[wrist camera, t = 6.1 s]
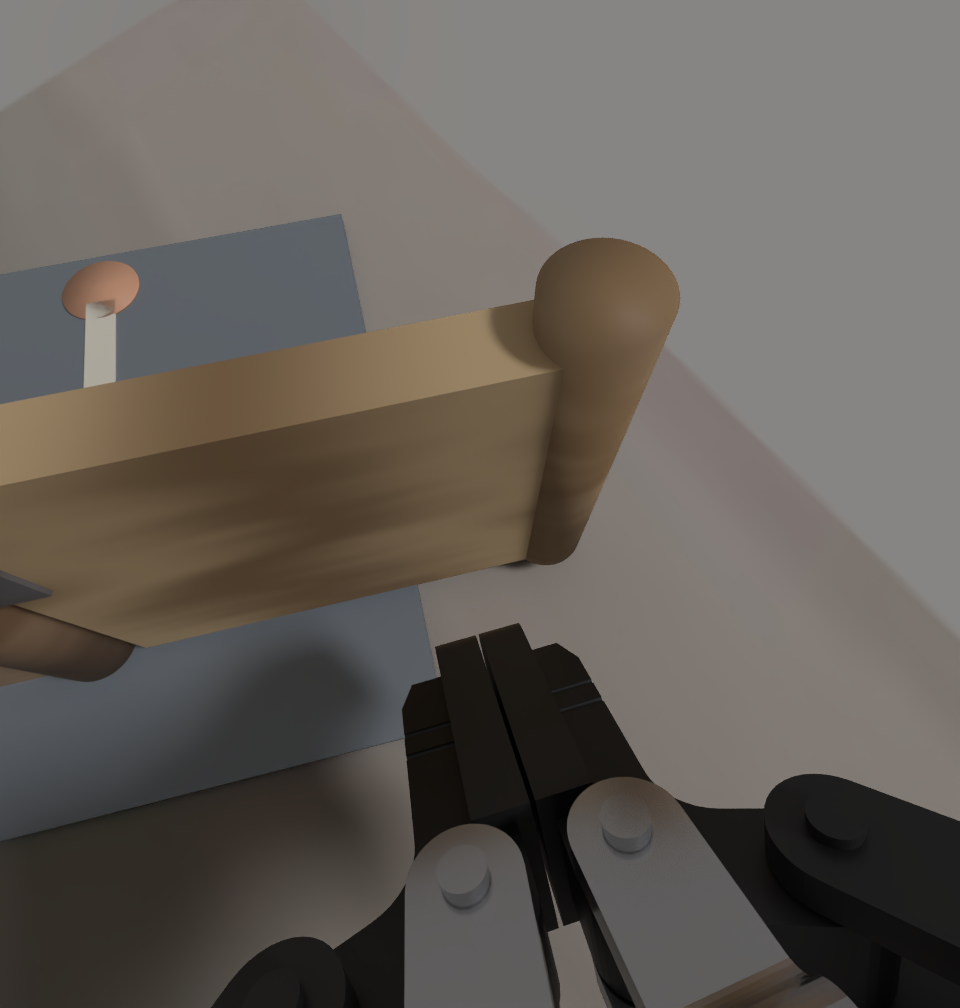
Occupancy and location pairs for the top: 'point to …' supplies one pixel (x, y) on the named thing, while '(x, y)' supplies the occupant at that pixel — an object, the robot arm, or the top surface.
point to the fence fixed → (55, 649)
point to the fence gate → (332, 460)
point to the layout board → (218, 655)
